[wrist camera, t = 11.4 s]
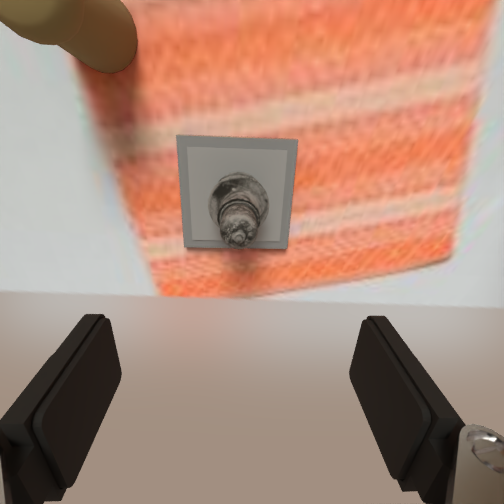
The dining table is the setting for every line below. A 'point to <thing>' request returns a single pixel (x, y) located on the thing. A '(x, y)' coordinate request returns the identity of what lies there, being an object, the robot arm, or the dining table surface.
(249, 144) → the coaster
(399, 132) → the dining table surface
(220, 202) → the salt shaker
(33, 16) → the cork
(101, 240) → the dining table surface
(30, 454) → the robot arm
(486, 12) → the dining table surface
